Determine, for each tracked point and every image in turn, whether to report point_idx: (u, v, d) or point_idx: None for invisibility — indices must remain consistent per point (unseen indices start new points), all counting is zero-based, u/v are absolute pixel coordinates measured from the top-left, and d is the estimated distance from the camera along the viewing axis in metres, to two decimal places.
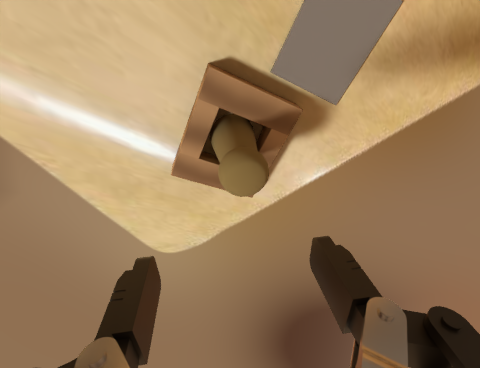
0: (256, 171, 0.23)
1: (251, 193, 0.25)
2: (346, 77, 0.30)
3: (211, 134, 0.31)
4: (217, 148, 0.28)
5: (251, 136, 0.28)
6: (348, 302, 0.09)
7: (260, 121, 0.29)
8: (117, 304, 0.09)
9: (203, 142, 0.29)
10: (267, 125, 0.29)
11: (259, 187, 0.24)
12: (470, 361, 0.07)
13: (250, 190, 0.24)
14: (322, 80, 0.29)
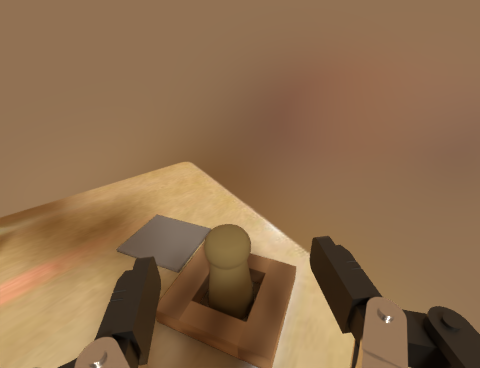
0: (217, 229, 0.27)
1: (242, 231, 0.26)
2: (192, 227, 0.43)
3: None
4: (223, 290, 0.27)
5: None
6: (348, 302, 0.09)
7: None
8: (117, 304, 0.09)
9: (226, 316, 0.27)
10: None
11: (236, 226, 0.27)
12: (470, 361, 0.07)
13: (237, 231, 0.26)
14: (191, 239, 0.41)
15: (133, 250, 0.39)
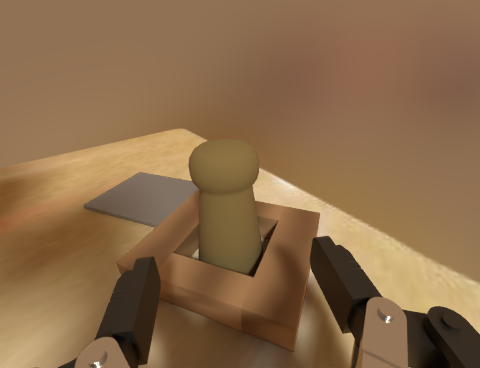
0: (209, 141, 0.18)
1: (246, 142, 0.18)
2: (182, 182, 0.35)
3: None
4: (219, 233, 0.18)
5: None
6: (348, 302, 0.09)
7: None
8: (117, 304, 0.09)
9: (223, 270, 0.18)
10: None
11: None
12: (470, 361, 0.07)
13: (239, 141, 0.18)
14: (179, 193, 0.32)
15: (104, 206, 0.30)
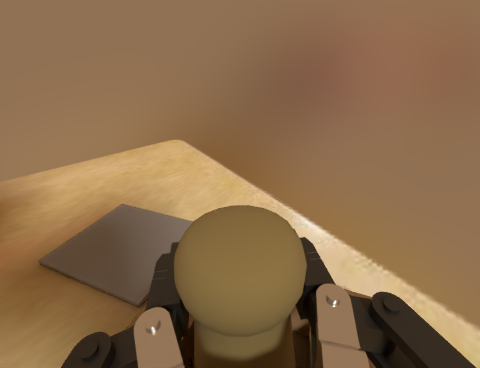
0: (213, 216, 0.10)
1: (280, 221, 0.10)
2: (174, 223, 0.26)
3: None
4: None
5: None
6: (303, 289, 0.10)
7: None
8: (160, 282, 0.10)
9: None
10: None
11: (262, 209, 0.10)
12: (413, 340, 0.07)
13: (268, 221, 0.09)
14: (171, 242, 0.24)
15: (66, 263, 0.22)
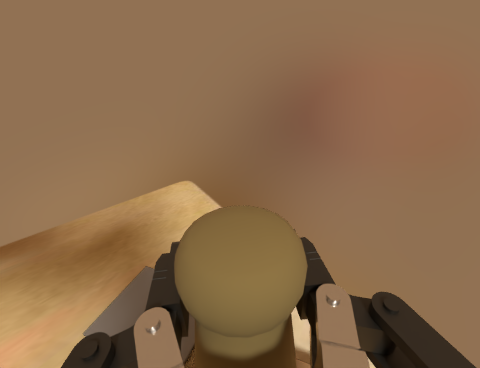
0: (213, 216, 0.10)
1: (281, 221, 0.10)
2: None
3: None
4: None
5: None
6: None
7: None
8: (160, 282, 0.10)
9: None
10: None
11: (262, 209, 0.10)
12: (413, 340, 0.07)
13: (269, 221, 0.09)
14: None
15: None
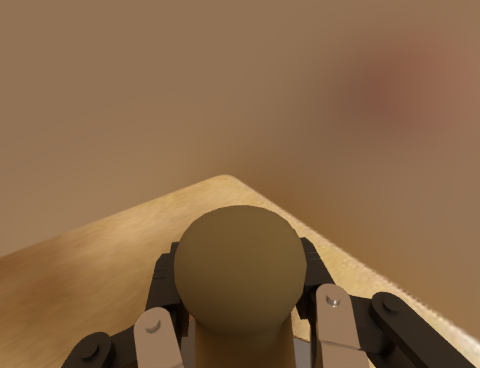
0: (213, 216, 0.10)
1: (280, 221, 0.10)
2: None
3: None
4: None
5: None
6: (303, 289, 0.10)
7: None
8: (160, 282, 0.10)
9: None
10: None
11: (262, 209, 0.10)
12: (413, 340, 0.07)
13: (268, 221, 0.09)
14: None
15: None
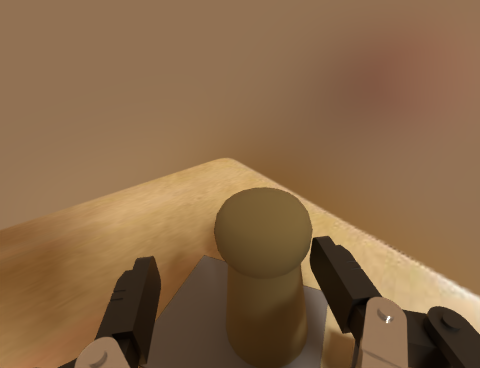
0: (241, 196, 0.13)
1: (292, 198, 0.13)
2: None
3: (258, 358, 0.15)
4: (257, 317, 0.13)
5: None
6: (348, 302, 0.09)
7: None
8: (117, 304, 0.09)
9: None
10: None
11: (277, 190, 0.13)
12: (470, 361, 0.07)
13: (283, 197, 0.13)
14: None
15: (170, 363, 0.16)
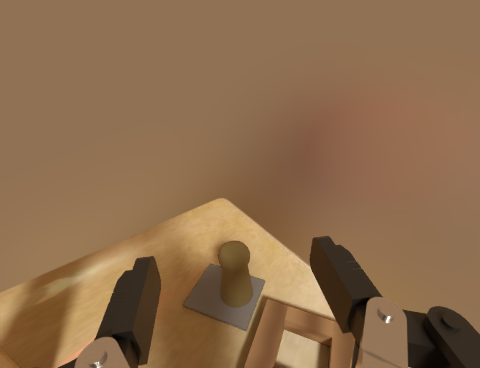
0: (227, 244, 0.40)
1: (244, 245, 0.40)
2: None
3: (232, 302, 0.41)
4: (231, 285, 0.40)
5: None
6: (348, 302, 0.09)
7: (279, 329, 0.36)
8: (117, 304, 0.09)
9: None
10: (282, 323, 0.37)
11: (240, 242, 0.40)
12: (470, 361, 0.07)
13: (240, 246, 0.39)
14: None
15: (198, 306, 0.42)
